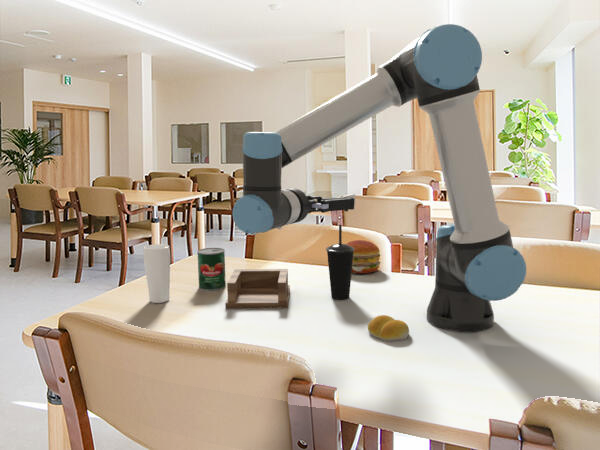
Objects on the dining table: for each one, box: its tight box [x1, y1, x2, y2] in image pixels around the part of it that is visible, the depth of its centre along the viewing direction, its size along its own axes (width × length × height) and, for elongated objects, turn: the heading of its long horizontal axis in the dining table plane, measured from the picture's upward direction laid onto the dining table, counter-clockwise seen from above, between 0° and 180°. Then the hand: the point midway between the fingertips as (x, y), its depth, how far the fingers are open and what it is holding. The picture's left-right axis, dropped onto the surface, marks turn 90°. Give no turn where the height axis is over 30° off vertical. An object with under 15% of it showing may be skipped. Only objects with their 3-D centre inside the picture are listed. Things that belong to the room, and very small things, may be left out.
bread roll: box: [367, 314, 410, 342], centre depth 116 cm, size 8×9×4 cm
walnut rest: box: [224, 268, 291, 310], centre depth 142 cm, size 16×16×6 cm
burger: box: [346, 239, 382, 274], centre depth 170 cm, size 13×14×10 cm
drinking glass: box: [143, 243, 171, 304], centre depth 140 cm, size 7×7×15 cm
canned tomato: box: [196, 247, 227, 292], centre depth 153 cm, size 8×8×11 cm
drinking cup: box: [325, 224, 355, 301], centre depth 141 cm, size 8×8×20 cm
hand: (328, 197), depth 130 cm, fingers open, 13 cm apart
